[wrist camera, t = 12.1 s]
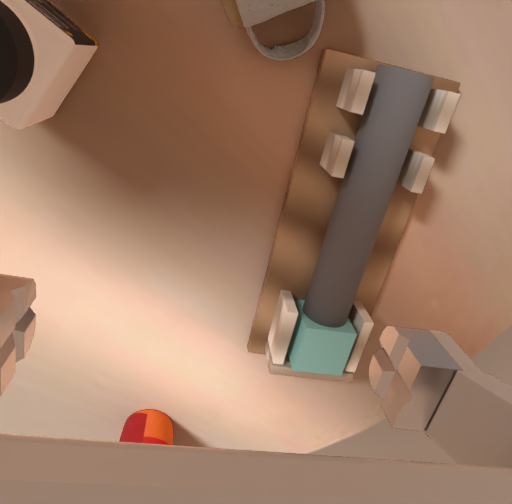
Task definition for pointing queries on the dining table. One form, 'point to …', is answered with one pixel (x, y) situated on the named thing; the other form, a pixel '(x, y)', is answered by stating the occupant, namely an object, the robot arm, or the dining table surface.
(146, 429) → the paper cup
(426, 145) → the wooden cradle
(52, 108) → the medicine bottle
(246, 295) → the dining table surface
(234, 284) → the dining table surface
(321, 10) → the ceramic mug
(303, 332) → the grey and teal rod
